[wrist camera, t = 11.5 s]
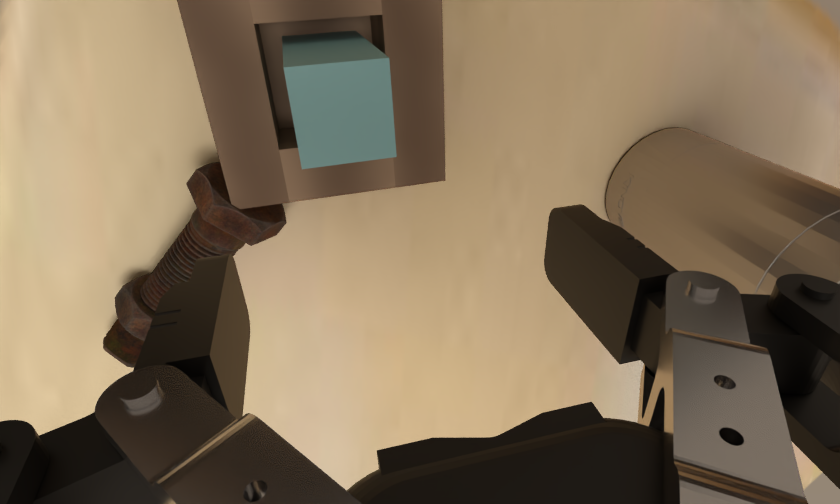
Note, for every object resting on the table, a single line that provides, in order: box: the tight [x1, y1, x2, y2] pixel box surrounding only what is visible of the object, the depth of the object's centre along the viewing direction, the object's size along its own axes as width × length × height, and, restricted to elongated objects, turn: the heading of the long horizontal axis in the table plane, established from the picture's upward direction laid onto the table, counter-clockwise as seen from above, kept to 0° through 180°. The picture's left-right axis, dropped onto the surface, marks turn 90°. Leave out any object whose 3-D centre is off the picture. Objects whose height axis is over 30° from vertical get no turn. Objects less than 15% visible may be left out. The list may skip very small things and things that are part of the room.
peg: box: [282, 30, 397, 169], centre depth 24 cm, size 4×4×10 cm
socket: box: [177, 0, 445, 209], centre depth 27 cm, size 12×12×5 cm
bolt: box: [103, 162, 286, 368], centre depth 31 cm, size 6×5×15 cm
